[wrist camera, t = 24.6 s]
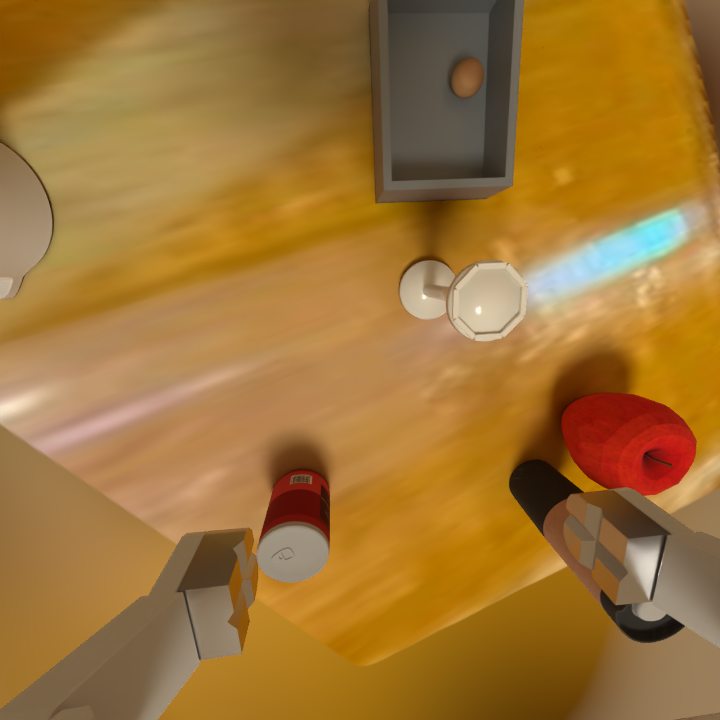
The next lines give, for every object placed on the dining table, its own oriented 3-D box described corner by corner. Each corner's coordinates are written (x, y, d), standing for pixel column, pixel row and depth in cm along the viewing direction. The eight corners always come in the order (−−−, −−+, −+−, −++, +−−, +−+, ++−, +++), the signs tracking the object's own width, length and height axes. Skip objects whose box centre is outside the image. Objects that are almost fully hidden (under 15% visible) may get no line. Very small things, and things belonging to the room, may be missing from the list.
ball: (461, 111, 36) (470, 99, 33) (441, 87, 35) (448, 73, 32) (484, 84, 35) (495, 69, 32) (463, 58, 34) (473, 41, 31)
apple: (585, 464, 50) (674, 531, 37) (522, 434, 47) (594, 495, 34) (632, 396, 47) (745, 443, 34) (569, 362, 45) (664, 398, 32)
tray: (375, 203, 38) (383, 190, 32) (368, 9, 33) (376, -47, 28) (485, 198, 39) (512, 185, 33) (493, 9, 34) (526, -45, 28)
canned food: (261, 489, 46) (240, 554, 35) (306, 456, 45) (298, 512, 35) (297, 524, 48) (287, 595, 37) (340, 493, 47) (343, 556, 37)
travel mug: (566, 471, 50) (715, 597, 30) (534, 510, 51) (659, 654, 32) (528, 449, 48) (660, 567, 29) (497, 489, 49) (603, 628, 30)
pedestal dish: (399, 319, 42) (443, 351, 25) (398, 261, 40) (445, 254, 23) (453, 316, 42) (531, 345, 26) (455, 259, 40) (540, 250, 24)
